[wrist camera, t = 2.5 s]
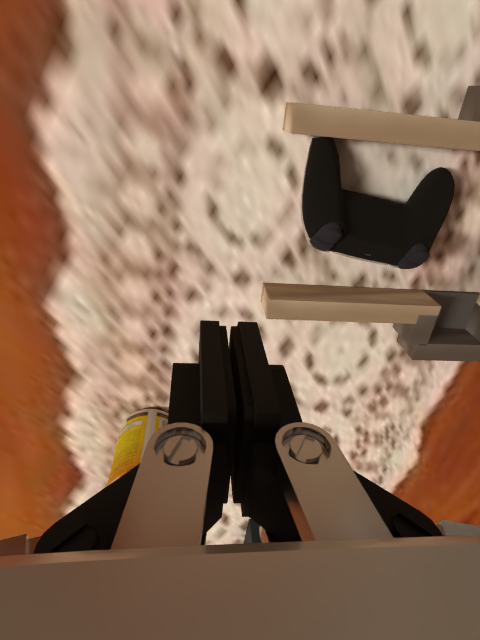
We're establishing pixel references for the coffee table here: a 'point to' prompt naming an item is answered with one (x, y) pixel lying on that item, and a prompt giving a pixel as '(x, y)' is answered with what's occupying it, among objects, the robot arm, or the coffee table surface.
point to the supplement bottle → (135, 440)
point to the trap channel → (380, 303)
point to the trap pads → (453, 308)
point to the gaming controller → (370, 213)
